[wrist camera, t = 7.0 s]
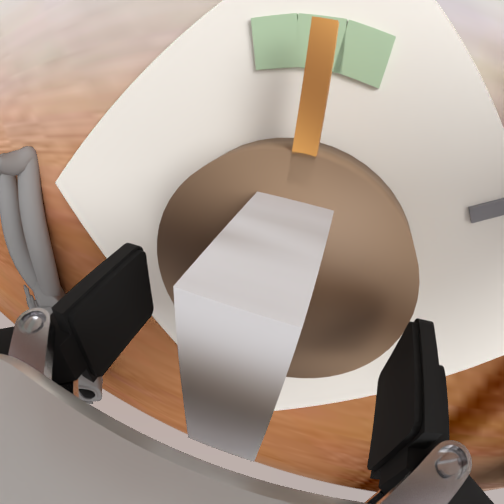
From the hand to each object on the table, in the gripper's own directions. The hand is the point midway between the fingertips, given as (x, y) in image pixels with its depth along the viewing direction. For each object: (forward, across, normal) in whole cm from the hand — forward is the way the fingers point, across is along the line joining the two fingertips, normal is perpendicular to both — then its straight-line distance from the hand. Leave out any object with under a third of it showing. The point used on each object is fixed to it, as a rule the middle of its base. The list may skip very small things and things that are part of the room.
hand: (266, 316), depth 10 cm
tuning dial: (+3, 0, -2) cm, 4 cm away
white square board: (+5, 0, 0) cm, 5 cm away
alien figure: (+6, +19, +10) cm, 22 cm away
